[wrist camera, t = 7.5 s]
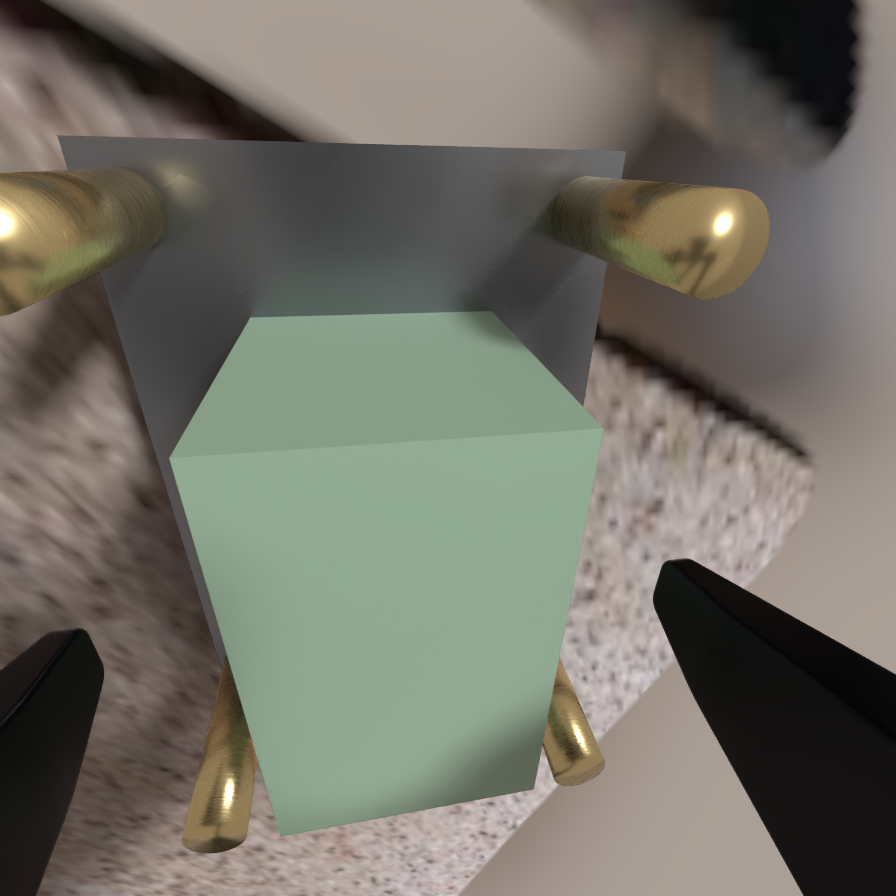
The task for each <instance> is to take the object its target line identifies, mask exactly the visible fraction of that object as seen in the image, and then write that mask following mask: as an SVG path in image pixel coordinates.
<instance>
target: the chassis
mask: <svg viewBox="0 0 896 896" xmlns="http://www.w3.org/2000/svg"><path fill="white" fill-rule="evenodd" d="M57 136H58V135H57ZM58 139H59V142H60V145H61V149H62V152H63V155H64V158H65V162H66V165H67V168H68V170H55V171H35V172H15V173H0V316H3V315H8V314H12V313H14V312H17V311H19V310H21V309H23V308H25V307H28V306H30V305H32V304H34V303H36V302H38V301H40V300H42V299H44V298H46V297H49V296H51V295H53V294H55V293H57V292H59V291H61V290H63V289H65V288H67V287H70V286H72V285H74V284H76V283H78V282H80V281H82V280H84V279H86V278H88V277H91V276H93V275H95V274H97V273H99V272H100V275H101V279H102V282H103V285H104V288H105V292H106V295H107V298H108V301H109V305H110V308H111V311H112V314H113V318H114V321H115V324H116V327H117V331H118V334H119V337H120V340H121V344H122V347H123V350H124V353H125V357H126V360H127V363H128V366H129V370H130V373H131V376H132V379H133V383H134V386H135V389H136V392H137V396H138V399H139V402H140V405H141V409H142V412H143V415H144V418H145V422H146V425H147V428H148V431H149V435H150V438H151V441H152V444H153V448H154V451H155V454H156V457H157V461H158V464H159V467H160V470H161V474H162V477H163V480H164V483H165V487H166V490H167V493H168V496H169V500H170V503H171V506H172V509H173V513H174V516H175V519H176V522H177V526H178V529H179V532H180V535H181V539H182V542H183V545H184V548H185V552H186V555H187V558H188V561H189V565H190V568H191V571H192V574H193V578H194V581H195V584H196V587H197V591H198V594H199V597H200V600H201V604H202V607H203V610H204V613H205V617H206V620H207V623H208V626H209V630H210V633H211V636H212V639H213V643H214V646H215V649H216V652H217V656H218V659H219V662H220V665H221V669H222V672H221V676H220V680H219V684H218V689H217V693H216V697H215V701H214V706H213V710H212V714H211V718H210V722H209V727H208V731H207V735H206V739H205V744H204V748H203V752H202V756H201V761H200V765H199V769H198V773H197V777H196V782H195V786H194V790H193V794H192V799H191V803H190V807H189V811H188V815H187V820H186V824H185V828H184V832H183V837H182V843H183V845H184V846H185V847H186V848H187V849H189V850H192V851H195V852H199V853H218V852H223V851H227V850H230V849H233V848H235V847H237V846H239V845H240V844H241V843H243V842H244V840H245V839H246V837H247V831H248V824H249V817H250V810H251V803H252V796H253V789H254V782H255V775H256V768H257V761H258V758H257V755H256V751H255V748H254V745H253V741H252V738H251V734H250V731H249V728H248V724H247V721H246V718H245V714H244V711H243V707H242V704H241V701H240V697H239V694H238V690H237V687H236V684H235V680H234V677H233V673H232V670H231V667H230V663H229V660H228V656H227V653H226V650H225V646H224V643H223V639H222V636H221V633H220V629H219V626H218V622H217V619H216V616H215V612H214V609H213V605H212V602H211V599H210V595H209V592H208V588H207V585H206V582H205V578H204V575H203V571H202V568H201V565H200V561H199V558H198V554H197V551H196V548H195V544H194V541H193V537H192V534H191V531H190V527H189V524H188V520H187V517H186V514H185V510H184V507H183V504H182V500H181V497H180V493H179V490H178V487H177V483H176V480H175V476H174V473H173V470H172V466H171V463H170V459H169V458H170V456H171V454H172V452H173V451H174V449H175V447H176V445H177V444H178V442H179V440H180V439H181V437H182V435H183V433H184V432H185V430H186V428H187V426H188V425H189V423H190V421H191V419H192V418H193V416H194V414H195V413H196V411H197V409H198V407H199V406H200V404H201V402H202V400H203V399H204V397H205V395H206V394H207V392H208V390H209V388H210V387H211V385H212V383H213V381H214V380H215V378H216V376H217V374H218V373H219V371H220V369H221V368H222V366H223V364H224V362H225V361H226V359H227V357H228V355H229V354H230V352H231V350H232V348H233V347H234V345H235V343H236V342H237V340H238V338H239V336H240V335H241V333H242V331H243V329H244V328H245V326H246V324H247V322H248V321H249V319H250V318H255V317H292V316H329V315H366V314H403V313H440V312H477V311H492V312H493V313H494V314H495V315H496V316H497V317H498V318H499V319H500V320H501V321H502V322H503V323H504V324H505V326H506V327H507V328H508V329H509V330H510V331H511V332H512V333H513V334H514V335H515V336H516V337H517V338H518V339H519V340H520V341H521V342H522V343H523V344H524V345H525V346H526V348H527V349H528V350H529V351H530V352H531V353H532V354H533V355H534V356H535V357H536V358H537V359H538V360H539V361H540V362H541V363H542V364H543V365H544V366H545V367H546V368H547V370H548V371H549V372H550V373H551V374H552V375H553V376H554V377H555V378H556V379H557V380H558V381H559V382H560V383H561V384H562V385H563V386H564V387H565V388H566V389H567V390H568V392H569V393H570V394H571V395H572V396H573V397H574V398H575V399H576V400H577V401H578V402H579V403H580V404H581V405H582V406H583V404H584V398H585V392H586V386H587V380H588V374H589V368H590V362H591V356H592V350H593V345H594V339H595V333H596V327H597V321H598V315H599V309H600V303H601V297H602V291H603V285H604V278H605V272H606V267H607V262H608V263H611V264H613V265H615V266H618V267H620V268H623V269H626V270H628V271H630V272H633V273H635V274H638V275H640V276H643V277H645V278H648V279H650V280H653V281H655V282H658V283H660V284H663V285H665V286H668V287H670V288H673V289H675V290H677V291H680V292H683V293H685V294H687V295H690V296H692V297H695V298H699V299H714V298H718V297H721V296H724V295H726V294H728V293H730V292H732V291H733V290H735V289H736V288H738V287H739V286H740V285H741V284H743V283H744V282H745V281H746V280H747V279H748V278H749V276H750V275H751V274H752V273H753V272H754V270H755V269H756V268H757V266H758V264H759V263H760V261H761V259H762V257H763V255H764V252H765V249H766V247H767V243H768V239H769V231H770V223H769V216H768V212H767V210H766V207H765V205H764V204H763V202H762V201H761V200H760V199H759V198H758V197H757V196H756V195H755V194H753V193H751V192H749V191H746V190H743V189H732V188H720V187H708V186H696V185H684V184H671V183H659V182H649V181H637V180H624V179H621V178H622V171H623V166H624V160H625V154H626V151H599V150H564V149H562V150H561V149H528V148H526V149H525V148H492V147H455V146H419V145H383V144H347V143H311V142H275V141H239V140H202V139H166V138H130V137H94V136H58ZM542 745H543V748H544V751H545V754H546V757H547V760H548V763H549V766H550V769H551V772H552V775H553V777H554V780H555V782H556V783H558V784H559V785H563V786H573V785H579V784H582V783H585V782H587V781H589V780H591V779H593V778H594V777H596V776H597V775H599V774H600V773H601V771H602V770H603V769H604V766H605V761H604V758H603V756H602V754H601V752H600V749H599V747H598V745H597V742H596V740H595V738H594V735H593V733H592V731H591V728H590V726H589V724H588V721H587V719H586V717H585V714H584V712H583V710H582V707H581V705H580V703H579V701H578V698H577V696H576V694H575V691H574V689H573V687H572V684H571V682H570V680H569V677H568V675H567V673H566V670H565V668H564V666H563V663H562V661H561V659H560V657H559V662H558V667H557V672H556V677H555V682H554V687H553V693H552V698H551V703H550V708H549V713H548V718H547V723H546V729H545V734H544V739H543V744H542Z"/></svg>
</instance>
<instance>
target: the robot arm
mask: <svg viewBox="0 0 896 896" xmlns="http://www.w3.org/2000/svg"><path fill="white" fill-rule="evenodd" d="M653 604H654V608H655V610H656V613H657V615H658V617H659V620H660V622H661V624H662V627H663V629H664V631H665V634H666V636H667V638H668V640H669V643H670V645H671V647H672V650H673V652H674V654H675V657H676V659H677V661H678V663H679V666H680V668H681V670H682V673H683V675H684V677H685V679H686V682H687V684H688V686H689V688H690V690H691V692H692V694H693V696H694V698H695V700H696V702H697V704H698V706H699V708H700V709H701V711H702V713H703V715H704V717H705V718H706V720H707V722H708V724H709V726H710V727H711V729H712V731H713V733H714V735H715V736H716V738H717V740H718V742H719V744H720V746H721V747H722V749H723V751H724V753H725V755H726V756H727V758H728V760H729V762H730V764H731V765H732V767H733V769H734V771H735V772H736V774H737V776H738V778H739V780H740V781H741V783H742V785H743V787H744V789H745V791H746V793H747V794H748V796H749V798H750V800H751V802H752V803H753V805H754V807H755V809H756V811H757V812H758V814H759V816H760V818H761V820H762V821H763V823H764V825H765V827H766V829H767V831H768V832H769V834H770V836H771V838H772V839H773V841H774V843H775V845H776V847H777V849H778V850H779V852H780V854H781V856H782V858H783V859H784V861H785V863H786V865H787V867H788V868H789V870H790V872H791V874H792V876H793V877H794V879H795V881H796V883H797V885H798V886H799V888H800V890H801V892H802V894H803V896H896V674H894V673H892V672H891V671H889V670H887V669H885V668H884V667H882V666H880V665H878V664H876V663H875V662H873V661H871V660H869V659H868V658H866V657H864V656H862V655H861V654H859V653H857V652H855V651H853V650H852V649H850V648H848V647H846V646H844V645H843V644H841V643H839V642H837V641H836V640H834V639H832V638H830V637H828V636H827V635H825V634H823V633H821V632H820V631H818V630H816V629H814V628H812V627H811V626H809V625H807V624H805V623H803V622H802V621H800V620H798V619H796V618H794V617H793V616H791V615H789V614H788V613H786V612H784V611H782V610H780V609H779V608H777V607H775V606H773V605H772V604H770V603H768V602H766V601H764V600H763V599H761V598H759V597H757V596H756V595H754V594H752V593H750V592H748V591H747V590H745V589H743V588H741V587H740V586H738V585H736V584H734V583H732V582H731V581H729V580H727V579H725V578H724V577H722V576H720V575H718V574H716V573H715V572H713V571H711V570H709V569H707V568H706V567H704V566H702V565H700V564H699V563H697V562H695V561H693V560H691V559H686V558H684V559H675V560H668V561H666V562H665V563H664V564H663V565H662V567H661V571H660V574H659V577H658V580H657V584H656V587H655V590H654V594H653ZM103 680H104V667H103V664H102V661H101V659H100V657H99V655H98V653H97V651H96V649H95V647H94V645H93V643H92V640H91V638H90V636H89V634H88V633H87V631H85V630H84V629H80V628H75V629H66V630H58V631H52V632H49V633H48V634H46V635H44V636H43V637H42V638H40V639H39V640H38V641H37V642H35V643H34V644H33V645H31V646H30V647H29V648H28V649H26V650H25V651H24V652H23V653H21V654H20V655H19V656H18V657H16V658H15V659H14V660H13V661H11V662H10V663H9V664H8V665H6V666H5V667H4V668H3V669H1V670H0V896H36V895H37V893H38V890H39V887H40V885H41V882H42V879H43V876H44V874H45V871H46V868H47V866H48V863H49V860H50V858H51V855H52V852H53V850H54V847H55V844H56V841H57V839H58V836H59V833H60V831H61V828H62V825H63V823H64V820H65V817H66V815H67V812H68V809H69V806H70V803H71V800H72V797H73V794H74V791H75V787H76V784H77V781H78V777H79V774H80V770H81V766H82V762H83V758H84V754H85V750H86V747H87V743H88V739H89V735H90V731H91V727H92V723H93V720H94V716H95V712H96V708H97V704H98V700H99V696H100V693H101V689H102V685H103Z"/></svg>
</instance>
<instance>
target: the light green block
mask: <svg viewBox="0 0 896 896" xmlns="http://www.w3.org/2000/svg"><path fill="white" fill-rule="evenodd" d="M603 430H604V428H603V427H602V426H601V425H600V424H599V423H598V422H597V421H596V420H595V419H594V418H593V417H592V416H591V415H590V414H589V412H588V411H587V410H586V409H585V408H584V407H583V406H582V405H581V404H580V403H579V402H578V401H577V400H576V399H575V398H574V397H573V396H572V395H571V394H570V393H569V392H568V390H567V389H566V388H565V387H564V386H563V385H562V384H561V383H560V382H559V381H558V380H557V379H556V378H555V377H554V376H553V375H552V374H551V373H550V372H549V371H548V370H547V368H546V367H545V366H544V365H543V364H542V363H541V362H540V361H539V360H538V359H537V358H536V357H535V356H534V355H533V354H532V353H531V352H530V351H529V350H528V349H527V348H526V346H525V345H524V344H523V343H522V342H521V341H520V340H519V339H518V338H517V337H516V336H515V335H514V334H513V333H512V332H511V331H510V330H509V329H508V328H507V327H506V326H505V324H504V323H503V322H502V321H501V320H500V319H499V318H498V317H497V316H496V315H495V314H494V313H493V312H492V311H477V312H440V313H403V314H366V315H329V316H292V317H255V318H250V319H249V321H248V322H247V324H246V326H245V328H244V329H243V331H242V333H241V335H240V336H239V338H238V340H237V342H236V343H235V345H234V347H233V348H232V350H231V352H230V354H229V355H228V357H227V359H226V361H225V362H224V364H223V366H222V368H221V369H220V371H219V373H218V374H217V376H216V378H215V380H214V381H213V383H212V385H211V387H210V388H209V390H208V392H207V394H206V395H205V397H204V399H203V400H202V402H201V404H200V406H199V407H198V409H197V411H196V413H195V414H194V416H193V418H192V419H191V421H190V423H189V425H188V426H187V428H186V430H185V432H184V433H183V435H182V437H181V439H180V440H179V442H178V444H177V445H176V447H175V449H174V451H173V452H172V454H171V456H170V458H169V459H170V463H171V466H172V470H173V473H174V476H175V480H176V483H177V487H178V490H179V493H180V497H181V500H182V504H183V507H184V510H185V514H186V517H187V520H188V524H189V527H190V531H191V534H192V537H193V541H194V544H195V548H196V551H197V554H198V558H199V561H200V565H201V568H202V571H203V575H204V578H205V582H206V585H207V588H208V592H209V595H210V599H211V602H212V605H213V609H214V612H215V616H216V619H217V622H218V626H219V629H220V633H221V636H222V639H223V643H224V646H225V650H226V653H227V656H228V660H229V663H230V667H231V670H232V673H233V677H234V680H235V684H236V687H237V690H238V694H239V697H240V701H241V704H242V707H243V711H244V714H245V718H246V721H247V724H248V728H249V731H250V734H251V738H252V741H253V745H254V748H255V751H256V755H257V758H258V762H259V765H260V768H261V772H262V775H263V779H264V782H265V785H266V789H267V792H268V796H269V799H270V802H271V806H272V809H273V813H274V816H275V819H276V823H277V826H278V830H279V833H280V836H287V835H292V834H297V833H303V832H308V831H313V830H319V829H324V828H329V827H335V826H340V825H345V824H351V823H356V822H361V821H367V820H372V819H377V818H383V817H388V816H393V815H399V814H404V813H409V812H415V811H420V810H425V809H431V808H436V807H441V806H447V805H452V804H457V803H463V802H468V801H473V800H479V799H484V798H490V797H495V796H500V795H506V794H511V793H516V792H522V791H527V790H532V789H534V785H535V780H536V775H537V770H538V765H539V760H540V754H541V749H542V744H543V739H544V734H545V729H546V723H547V718H548V713H549V708H550V703H551V698H552V693H553V687H554V682H555V677H556V672H557V667H558V662H559V657H560V651H561V646H562V641H563V636H564V631H565V626H566V621H567V615H568V610H569V605H570V600H571V595H572V590H573V585H574V579H575V574H576V569H577V564H578V559H579V554H580V549H581V543H582V538H583V533H584V528H585V523H586V518H587V513H588V507H589V502H590V497H591V492H592V487H593V482H594V476H595V471H596V466H597V461H598V456H599V451H600V446H601V440H602V435H603Z"/></svg>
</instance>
